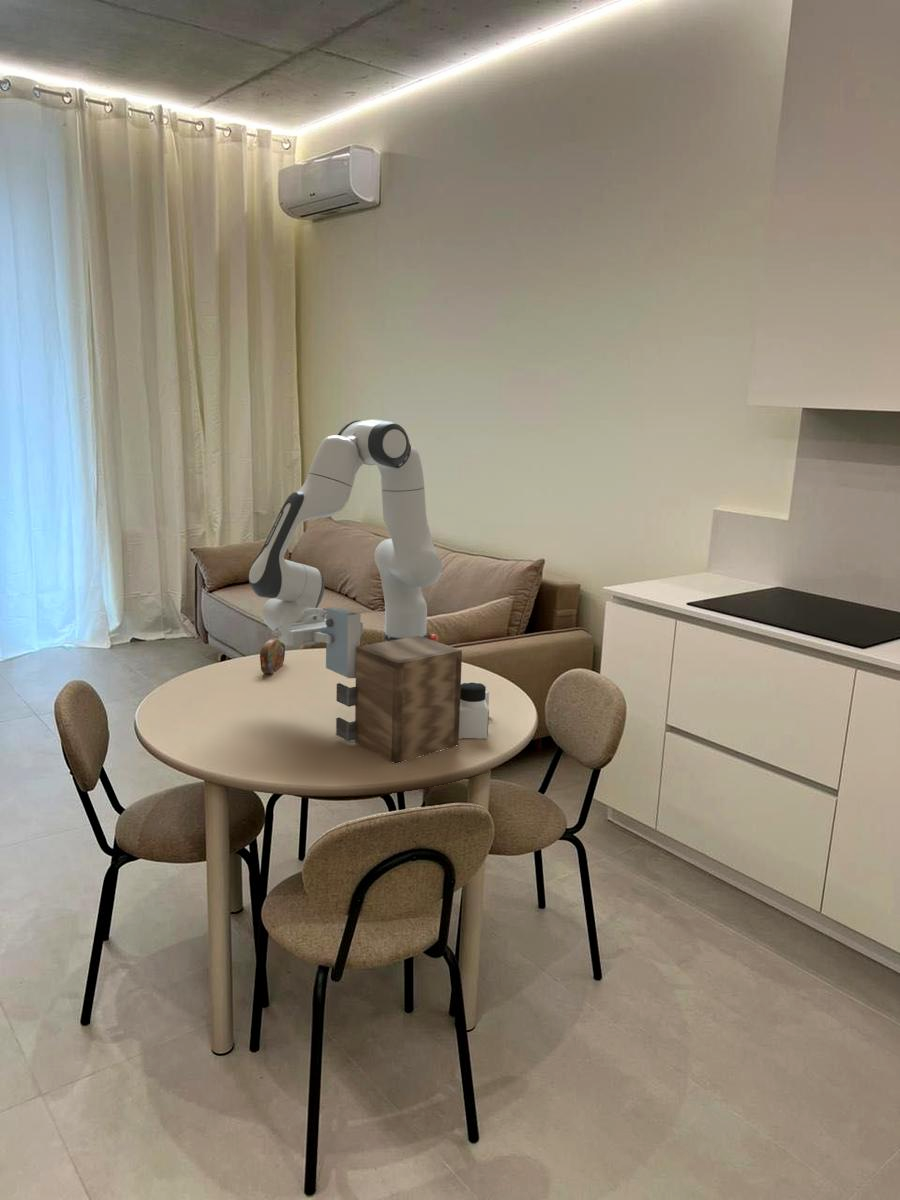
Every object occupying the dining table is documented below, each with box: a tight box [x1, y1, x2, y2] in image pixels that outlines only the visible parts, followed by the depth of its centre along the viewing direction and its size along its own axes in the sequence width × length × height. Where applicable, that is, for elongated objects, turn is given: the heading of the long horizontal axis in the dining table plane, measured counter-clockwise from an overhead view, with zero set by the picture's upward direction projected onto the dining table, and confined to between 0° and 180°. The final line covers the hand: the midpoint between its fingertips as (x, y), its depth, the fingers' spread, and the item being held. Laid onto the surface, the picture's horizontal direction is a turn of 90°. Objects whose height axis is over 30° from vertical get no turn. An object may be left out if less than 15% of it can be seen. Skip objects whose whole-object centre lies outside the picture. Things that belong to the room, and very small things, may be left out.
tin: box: [259, 637, 286, 675], centre depth 250 cm, size 15×3×8 cm, turn 173°
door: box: [325, 606, 362, 679], centre depth 198 cm, size 10×4×14 cm, turn 40°
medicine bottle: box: [459, 681, 490, 740], centre depth 205 cm, size 7×7×12 cm
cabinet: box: [335, 636, 463, 764], centre depth 197 cm, size 20×19×22 cm
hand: (340, 638), depth 200 cm, fingers closed on door, 3 cm apart
